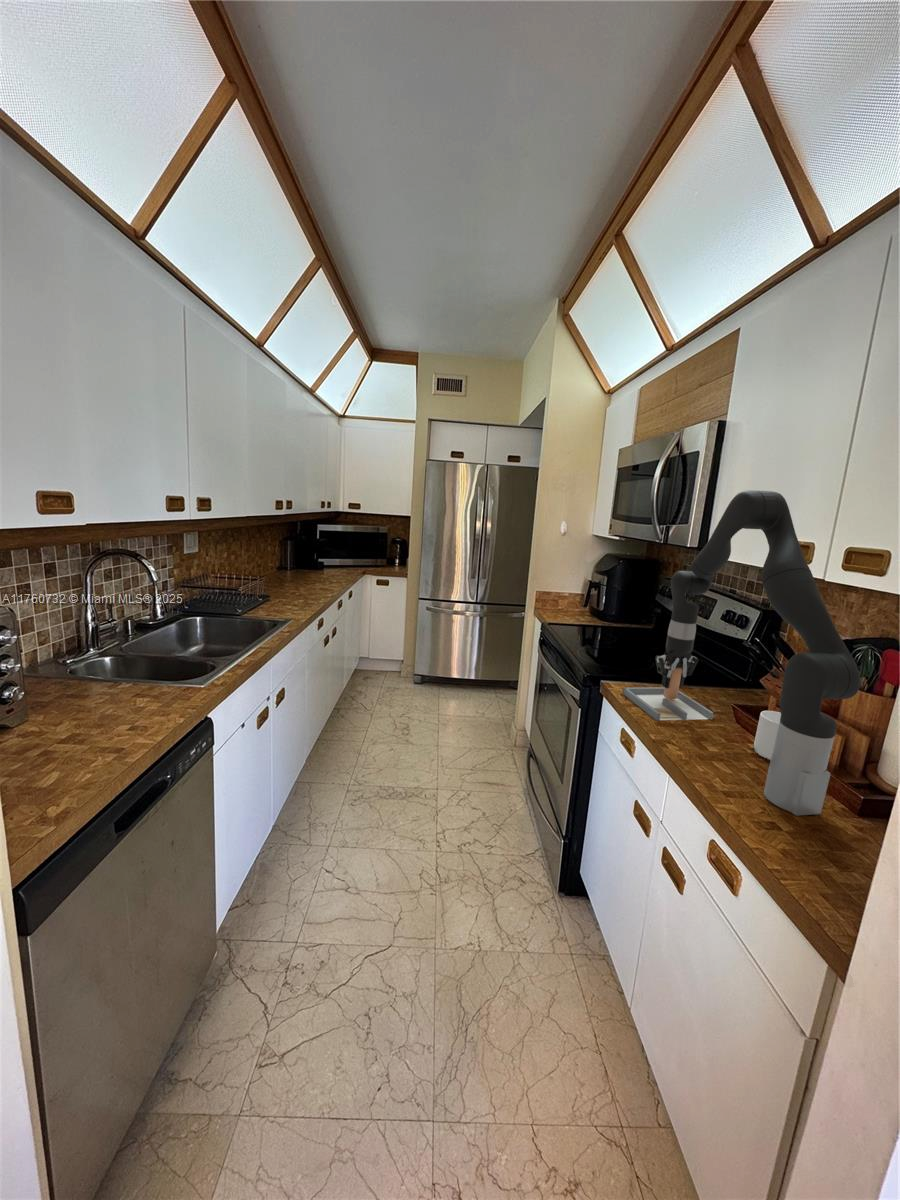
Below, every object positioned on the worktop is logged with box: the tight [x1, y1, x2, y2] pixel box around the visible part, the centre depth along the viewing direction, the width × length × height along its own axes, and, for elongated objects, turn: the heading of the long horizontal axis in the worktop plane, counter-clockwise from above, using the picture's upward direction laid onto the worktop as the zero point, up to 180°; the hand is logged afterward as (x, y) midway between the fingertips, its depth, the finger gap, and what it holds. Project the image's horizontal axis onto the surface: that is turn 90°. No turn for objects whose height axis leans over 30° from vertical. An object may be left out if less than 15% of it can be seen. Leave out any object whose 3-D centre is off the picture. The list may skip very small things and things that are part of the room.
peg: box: [663, 665, 682, 699], centre depth 147 cm, size 4×4×10 cm
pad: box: [654, 708, 679, 718], centre depth 138 cm, size 6×6×1 cm
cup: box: [753, 710, 781, 761], centre depth 121 cm, size 8×12×10 cm
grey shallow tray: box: [621, 686, 714, 721], centre depth 144 cm, size 19×18×3 cm
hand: (672, 687), depth 147 cm, fingers closed on peg, 4 cm apart
